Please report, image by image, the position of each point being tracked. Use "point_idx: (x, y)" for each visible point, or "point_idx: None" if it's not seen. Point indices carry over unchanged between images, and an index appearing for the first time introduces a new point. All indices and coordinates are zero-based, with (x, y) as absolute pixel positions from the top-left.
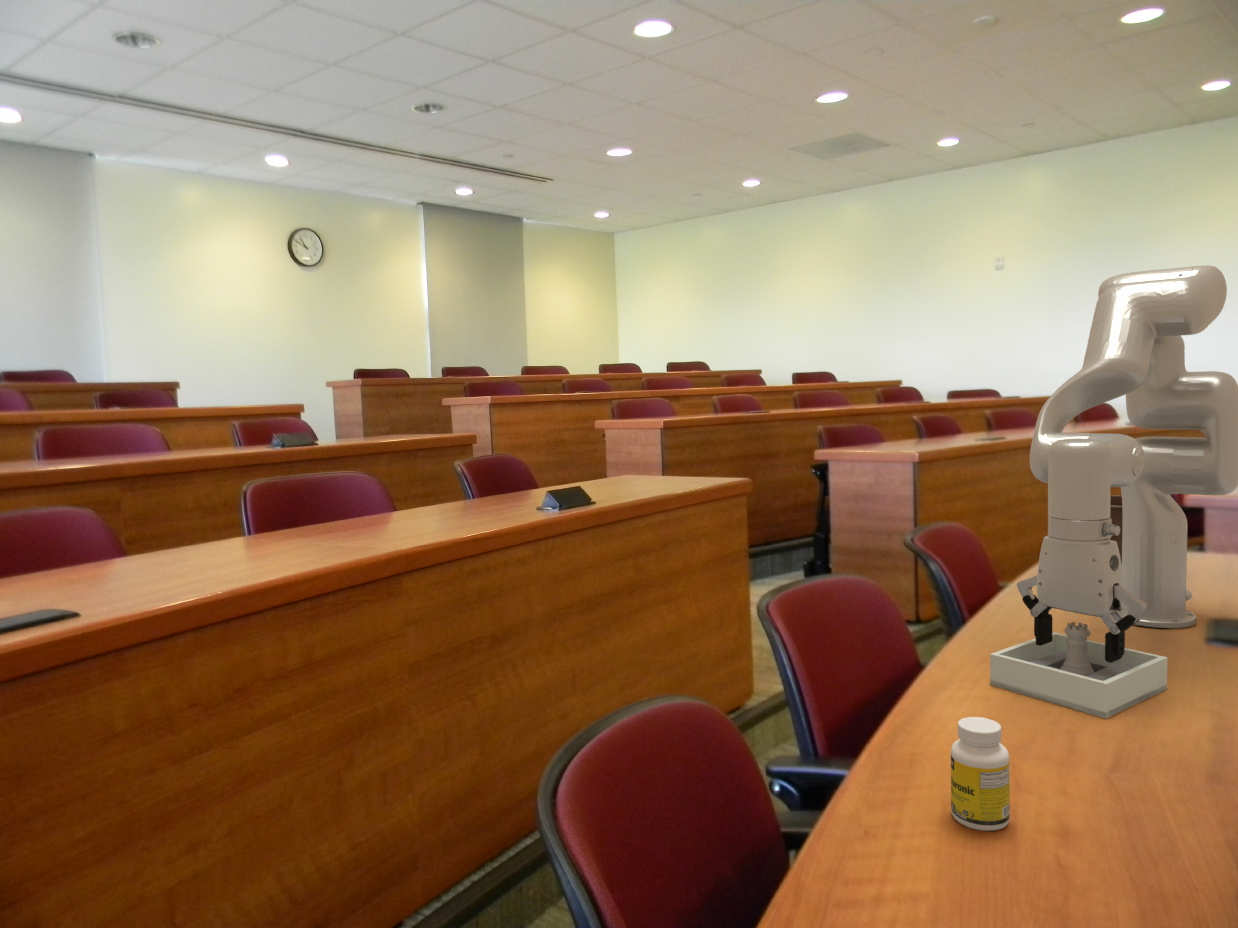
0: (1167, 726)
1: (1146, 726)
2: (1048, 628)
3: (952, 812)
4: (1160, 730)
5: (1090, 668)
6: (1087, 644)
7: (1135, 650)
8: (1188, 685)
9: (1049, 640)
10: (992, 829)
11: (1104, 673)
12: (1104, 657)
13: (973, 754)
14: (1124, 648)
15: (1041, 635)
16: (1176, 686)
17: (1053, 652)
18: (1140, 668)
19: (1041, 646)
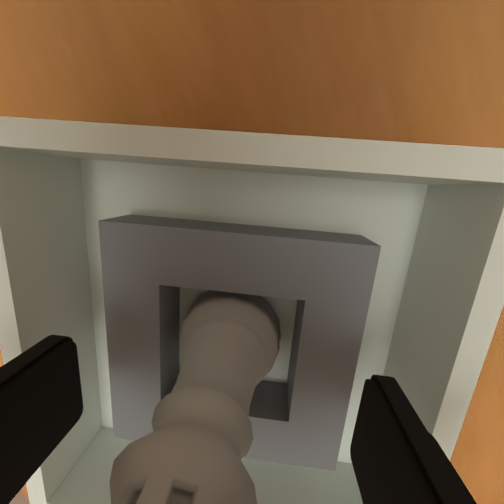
0: (494, 432)
1: (453, 455)
2: (16, 423)
3: None
4: (484, 459)
5: (267, 348)
6: (251, 435)
7: (382, 144)
8: (497, 63)
9: (72, 365)
10: None
11: (323, 373)
12: (240, 167)
13: None
14: (443, 454)
15: (48, 451)
16: (462, 108)
17: (63, 168)
18: (468, 393)
19: (38, 258)
